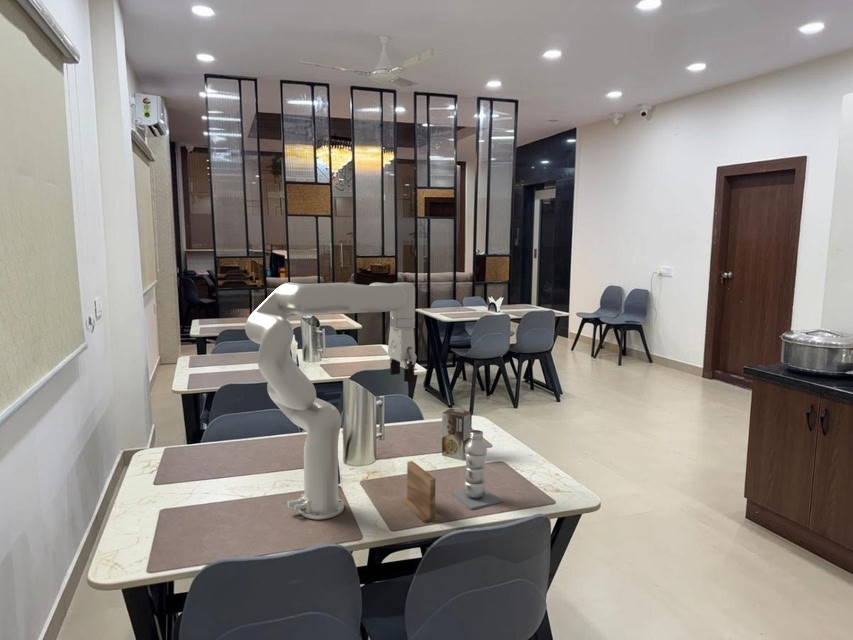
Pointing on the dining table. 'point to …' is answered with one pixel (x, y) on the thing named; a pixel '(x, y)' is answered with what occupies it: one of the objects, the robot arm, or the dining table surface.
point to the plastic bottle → (475, 465)
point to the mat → (476, 499)
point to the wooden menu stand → (420, 493)
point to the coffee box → (455, 432)
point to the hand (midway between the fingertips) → (401, 377)
